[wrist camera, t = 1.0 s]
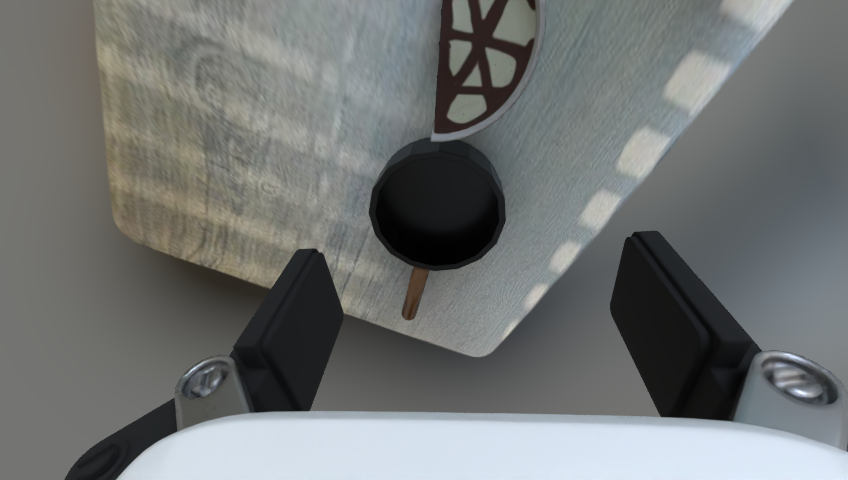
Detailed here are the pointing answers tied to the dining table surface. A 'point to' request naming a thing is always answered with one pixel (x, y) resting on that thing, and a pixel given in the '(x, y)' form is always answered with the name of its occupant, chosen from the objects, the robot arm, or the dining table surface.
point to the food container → (484, 62)
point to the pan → (436, 209)
